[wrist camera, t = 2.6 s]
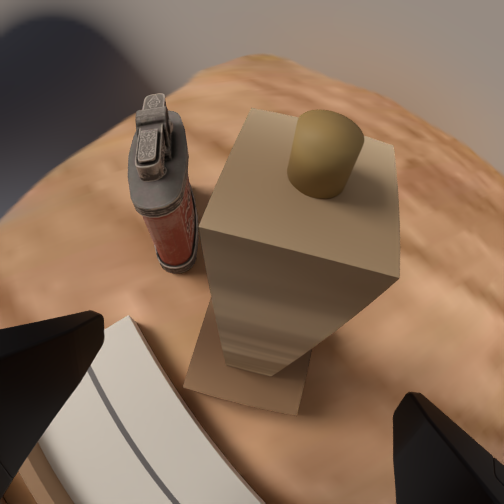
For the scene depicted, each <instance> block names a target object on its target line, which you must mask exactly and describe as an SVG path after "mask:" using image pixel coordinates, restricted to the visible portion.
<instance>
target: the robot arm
mask: <svg viewBox="0 0 504 504" xmlns="http://www.w3.org/2000/svg"><path fill="white" fill-rule="evenodd" d="M104 339H105V335H104V318H103V316H102V315H101V314H99V313H97V312H94V311H92V310H89V311H85V312H80V313H76V314H71V315H67V316H62V317H57V318H53V319H48V320H43V321H38V322H34V323H29V324H24V325H19V326H14V327H10V328H5V329H0V500H1V498H2V496H3V495H4V493H5V491H6V490H7V488H8V487H9V485H10V484H11V482H12V480H13V478H14V477H15V475H16V474H17V472H18V471H19V469H20V468H21V466H22V465H23V463H24V461H25V460H26V458H27V457H28V455H29V454H30V452H31V451H32V450H33V448H34V447H35V445H36V444H37V442H38V441H39V439H40V438H41V436H42V435H43V434H44V432H45V431H46V429H47V428H48V426H49V425H50V424H51V422H52V421H53V419H54V418H55V417H56V415H57V414H58V412H59V411H60V410H61V408H62V407H63V405H64V404H65V403H66V401H67V400H68V399H69V397H70V396H71V395H72V393H73V392H74V391H75V389H76V388H77V386H78V385H79V384H80V382H81V381H82V379H83V377H84V376H85V374H86V372H87V371H88V369H89V367H90V366H91V364H92V362H93V360H94V359H95V357H96V355H97V354H98V352H99V350H100V349H101V347H102V345H103V343H104ZM393 462H394V475H395V488H396V504H504V465H502V464H501V463H500V462H499V461H498V460H497V459H496V458H493V456H492V455H491V454H490V453H489V452H488V451H486V450H485V449H484V448H483V447H482V446H481V445H480V444H478V443H477V442H476V441H475V440H474V439H473V438H472V437H470V436H469V435H468V434H467V433H466V432H465V431H464V430H462V429H461V428H460V427H459V426H458V425H457V424H456V423H454V422H453V421H452V420H451V419H450V418H449V417H448V416H446V415H445V414H444V413H443V412H442V411H441V410H440V409H438V408H437V407H436V406H435V405H434V404H433V403H432V402H430V401H429V400H428V399H427V398H426V397H425V396H423V395H422V394H421V393H417V392H408V393H407V394H406V395H405V396H404V398H403V399H402V401H401V403H400V404H399V406H398V407H397V409H396V410H395V412H394V415H393Z"/></svg>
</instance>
